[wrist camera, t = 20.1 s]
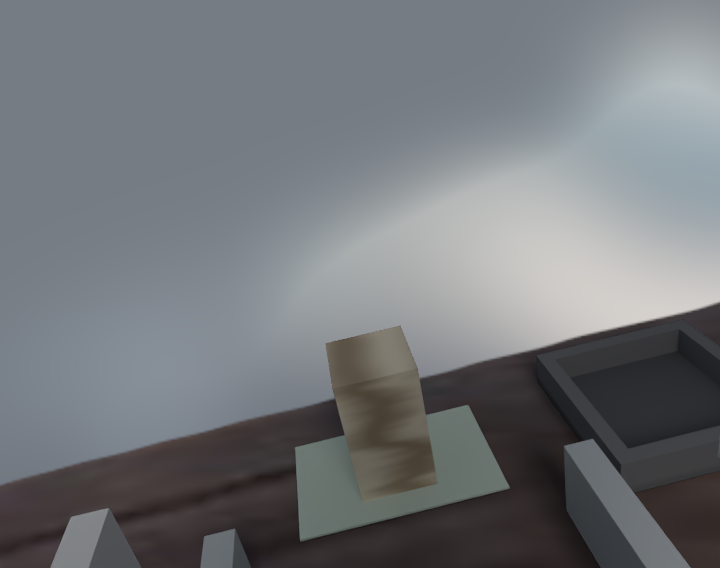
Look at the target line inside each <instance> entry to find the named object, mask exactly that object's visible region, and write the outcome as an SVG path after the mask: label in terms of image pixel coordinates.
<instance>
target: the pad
mask: <svg viewBox="0 0 720 568" xmlns="http://www.w3.org/2000/svg"><path fill="white" fill-rule="evenodd" d="M426 419H427V425H428V431H429V436H430V442H431V448H432V453H433V459H434V465H435V470H436V476H437V482H438V484H434V485H430V486H426V487H422V488H418V489H414V490H410V491H406V492H402V493H398V494H394V495H390V496H386V497H382V498H378V499H374V500H370V501H366V502H362V499H361V495H360V491H359V487H358V483H357V480H356V476H355V472H354V468H353V464H352V461H351V457H350V453H349V449H348V445H347V442H346V438H345V435H343V436H339V437H335V438H331V439H327V440H323V441H319V442H315V443H311V444H307V445H303V446H299V447H295V454H296V473H297V492H298V511H299V530H300V541H305V540H309V539H313V538H317V537H321V536H325V535H329V534H333V533H337V532H341V531H345V530H349V529H353V528H356V527H360V526H364V525H368V524H372V523H376V522H380V521H384V520H388V519H392V518H396V517H400V516H404V515H408V514H412V513H416V512H420V511H424V510H427V509H431V508H435V507H439V506H443V505H447V504H451V503H455V502H459V501H463V500H467V499H471V498H475V497H479V496H483V495H487V494H491V493H494V492H498V491H502V490H506V489H509V485H508V483H507V481H506V479H505V477H504V475H503V473H502V471H501V469H500V467H499V465H498V463H497V461H496V459H495V457H494V455H493V453H492V451H491V449H490V447H489V445H488V443H487V441H486V439H485V437H484V435H483V434H482V432H481V430H480V428H479V426H478V424H477V422H476V420H475V418H474V416H473V414H472V412H471V410H470V408H469V406H468V405H465V406H461V407H457V408H453V409H449V410H445V411H441V412H437V413H433V414H429V415H426Z"/></svg>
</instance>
